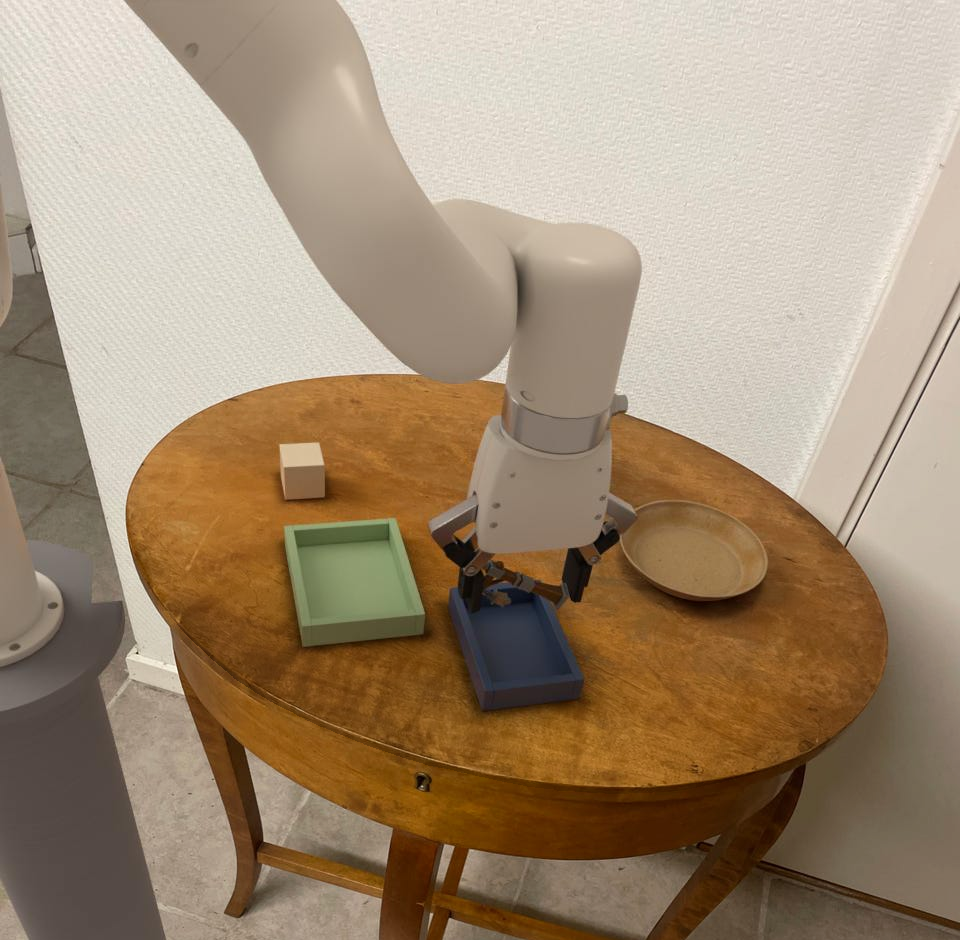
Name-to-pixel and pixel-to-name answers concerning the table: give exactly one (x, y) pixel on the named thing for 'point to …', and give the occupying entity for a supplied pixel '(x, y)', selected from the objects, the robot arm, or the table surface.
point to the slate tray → (515, 650)
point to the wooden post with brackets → (520, 585)
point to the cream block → (302, 470)
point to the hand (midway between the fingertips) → (521, 595)
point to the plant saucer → (694, 550)
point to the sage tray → (352, 582)
